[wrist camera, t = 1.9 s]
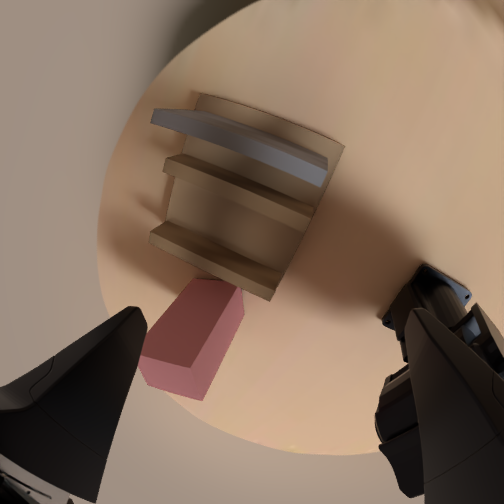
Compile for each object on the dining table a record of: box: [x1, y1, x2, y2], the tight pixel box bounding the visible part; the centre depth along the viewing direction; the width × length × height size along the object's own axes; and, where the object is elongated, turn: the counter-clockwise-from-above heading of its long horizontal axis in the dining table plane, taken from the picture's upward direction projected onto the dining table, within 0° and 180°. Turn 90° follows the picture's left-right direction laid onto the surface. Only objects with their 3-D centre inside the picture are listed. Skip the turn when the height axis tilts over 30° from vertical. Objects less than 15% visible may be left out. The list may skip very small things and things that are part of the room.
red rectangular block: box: [138, 278, 244, 401], centre depth 20 cm, size 4×4×10 cm
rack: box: [149, 93, 345, 302], centre depth 17 cm, size 10×12×7 cm
